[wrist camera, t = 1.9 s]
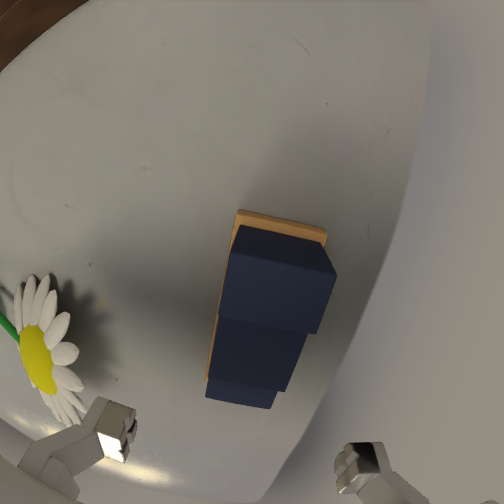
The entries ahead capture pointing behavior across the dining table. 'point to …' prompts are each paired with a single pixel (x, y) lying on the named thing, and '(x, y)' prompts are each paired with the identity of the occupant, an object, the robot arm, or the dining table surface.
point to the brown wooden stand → (28, 22)
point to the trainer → (266, 307)
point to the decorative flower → (46, 349)
